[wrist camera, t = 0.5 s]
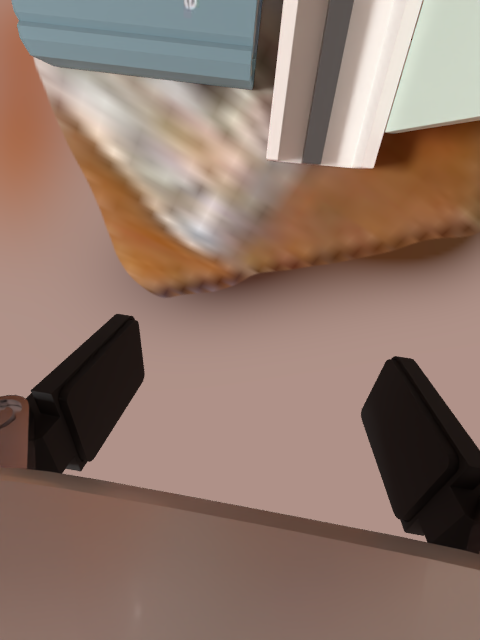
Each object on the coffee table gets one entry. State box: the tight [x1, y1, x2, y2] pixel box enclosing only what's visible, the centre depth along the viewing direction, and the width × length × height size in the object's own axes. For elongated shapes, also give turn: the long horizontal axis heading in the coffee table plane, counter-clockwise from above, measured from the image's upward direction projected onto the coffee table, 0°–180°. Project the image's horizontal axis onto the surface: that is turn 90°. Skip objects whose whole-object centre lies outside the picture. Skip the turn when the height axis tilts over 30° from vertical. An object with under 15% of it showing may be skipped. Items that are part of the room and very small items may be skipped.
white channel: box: [266, 0, 423, 169], centre depth 24 cm, size 20×11×5 cm, turn 176°
